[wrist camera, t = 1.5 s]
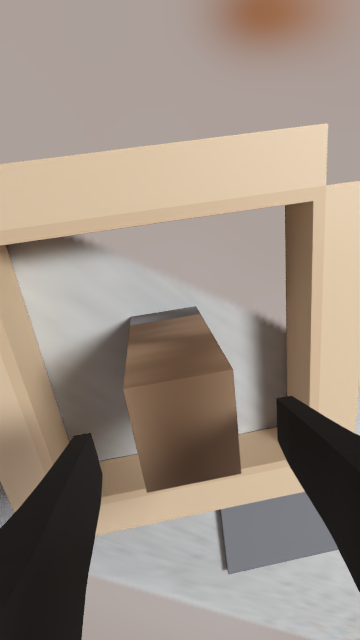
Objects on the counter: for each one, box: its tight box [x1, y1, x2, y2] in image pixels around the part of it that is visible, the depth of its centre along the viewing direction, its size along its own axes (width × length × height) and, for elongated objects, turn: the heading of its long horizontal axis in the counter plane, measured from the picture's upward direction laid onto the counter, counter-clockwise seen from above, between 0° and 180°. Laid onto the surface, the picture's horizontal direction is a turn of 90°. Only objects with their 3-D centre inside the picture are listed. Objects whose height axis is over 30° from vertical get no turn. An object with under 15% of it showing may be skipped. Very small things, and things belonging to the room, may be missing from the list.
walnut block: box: [123, 306, 241, 493], centre depth 15 cm, size 4×5×8 cm
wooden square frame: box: [0, 123, 360, 536], centre depth 18 cm, size 22×22×3 cm
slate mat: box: [220, 492, 338, 574], centre depth 25 cm, size 10×10×1 cm
